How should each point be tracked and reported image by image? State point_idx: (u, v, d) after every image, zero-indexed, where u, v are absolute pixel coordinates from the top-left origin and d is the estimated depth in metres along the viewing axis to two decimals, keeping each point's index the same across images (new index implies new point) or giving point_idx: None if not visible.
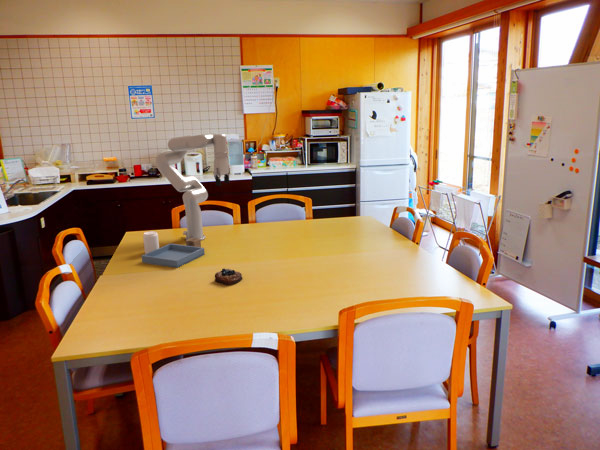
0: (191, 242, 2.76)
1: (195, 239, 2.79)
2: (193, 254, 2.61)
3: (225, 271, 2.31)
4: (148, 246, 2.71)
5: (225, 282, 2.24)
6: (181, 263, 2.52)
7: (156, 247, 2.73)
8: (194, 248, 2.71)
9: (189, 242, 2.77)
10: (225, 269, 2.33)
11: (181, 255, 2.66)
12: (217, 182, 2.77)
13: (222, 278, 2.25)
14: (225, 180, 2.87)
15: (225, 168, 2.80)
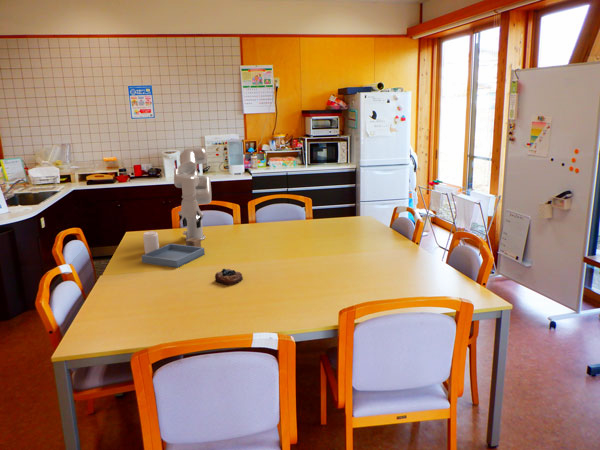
0: (191, 242, 2.76)
1: (195, 239, 2.79)
2: (193, 254, 2.61)
3: (225, 271, 2.31)
4: (148, 246, 2.71)
5: (225, 282, 2.24)
6: (181, 263, 2.52)
7: (156, 247, 2.73)
8: (194, 248, 2.71)
9: (189, 242, 2.77)
10: (225, 269, 2.32)
11: (181, 255, 2.66)
12: (200, 224, 2.73)
13: (222, 278, 2.25)
14: (184, 223, 2.77)
15: None
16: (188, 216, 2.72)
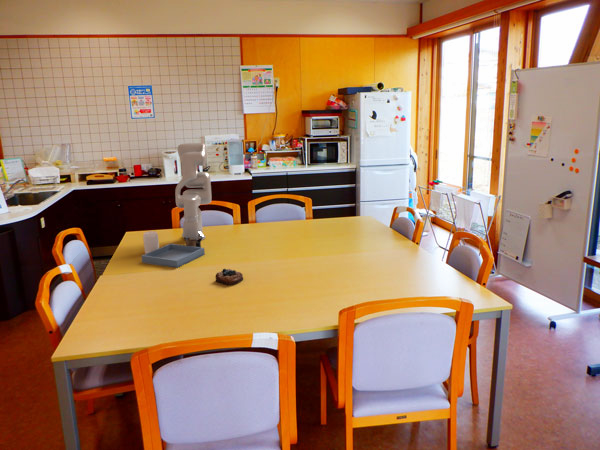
0: (191, 242, 2.76)
1: None
2: (193, 254, 2.61)
3: (226, 271, 2.31)
4: (148, 246, 2.71)
5: (226, 282, 2.24)
6: (181, 263, 2.52)
7: (156, 247, 2.73)
8: (194, 248, 2.71)
9: (189, 242, 2.77)
10: (226, 269, 2.32)
11: (181, 255, 2.66)
12: (199, 245, 2.78)
13: (223, 278, 2.25)
14: None
15: None
16: (190, 236, 2.76)
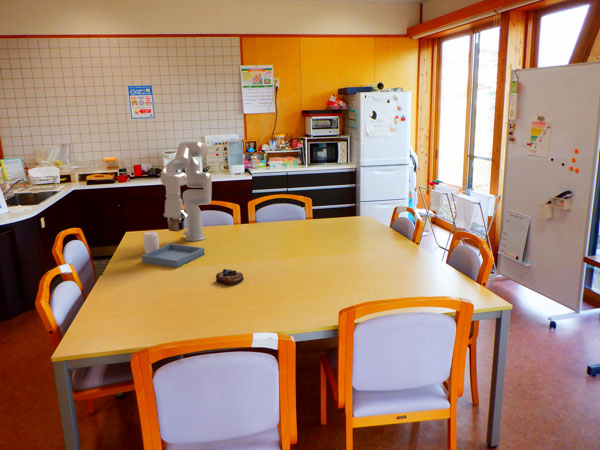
0: (174, 221, 2.60)
1: None
2: (193, 254, 2.61)
3: (226, 271, 2.30)
4: (148, 246, 2.71)
5: (227, 282, 2.24)
6: (181, 263, 2.52)
7: (156, 247, 2.73)
8: (194, 248, 2.71)
9: (172, 222, 2.60)
10: (226, 270, 2.32)
11: (181, 255, 2.66)
12: (182, 225, 2.62)
13: (224, 278, 2.25)
14: None
15: None
16: (172, 216, 2.59)
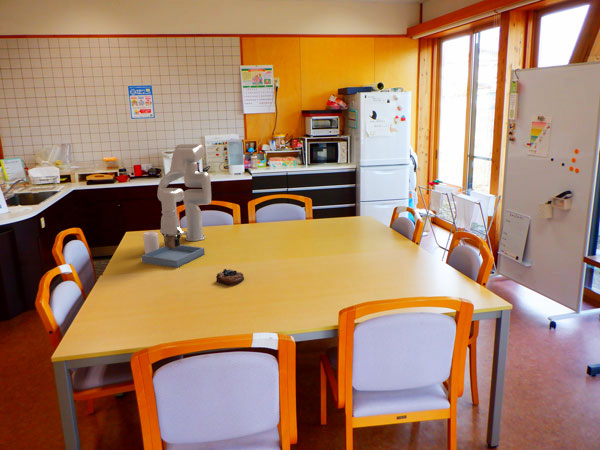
0: (170, 238, 2.58)
1: None
2: (193, 254, 2.61)
3: (227, 272, 2.30)
4: (148, 246, 2.71)
5: (227, 283, 2.23)
6: (181, 263, 2.52)
7: (156, 247, 2.73)
8: (194, 248, 2.71)
9: (168, 238, 2.59)
10: (226, 270, 2.32)
11: (181, 255, 2.66)
12: (178, 242, 2.60)
13: (224, 279, 2.24)
14: None
15: None
16: (168, 233, 2.58)
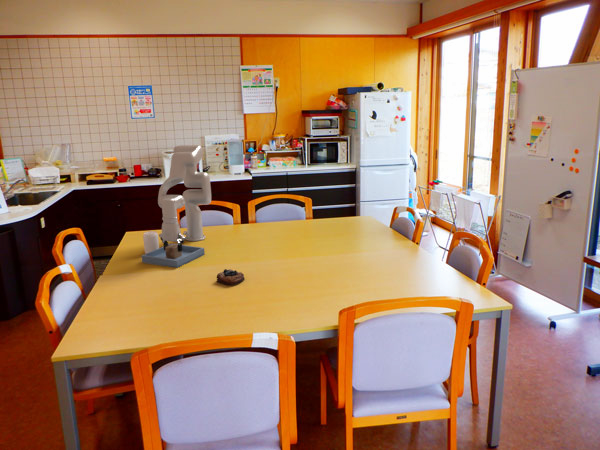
0: (171, 249, 2.60)
1: (175, 246, 2.63)
2: (193, 254, 2.61)
3: None
4: (148, 246, 2.71)
5: (228, 283, 2.23)
6: (181, 263, 2.52)
7: (156, 247, 2.73)
8: (194, 248, 2.71)
9: (169, 249, 2.61)
10: (227, 270, 2.32)
11: None
12: (181, 247, 2.61)
13: (225, 279, 2.24)
14: None
15: None
16: (169, 239, 2.59)
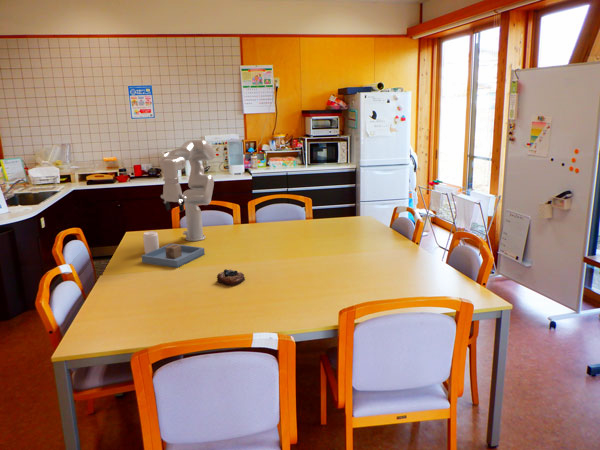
0: (171, 249, 2.60)
1: (175, 246, 2.63)
2: (193, 254, 2.61)
3: (227, 272, 2.30)
4: (148, 246, 2.71)
5: (228, 283, 2.23)
6: (181, 263, 2.52)
7: (156, 247, 2.73)
8: (194, 248, 2.71)
9: (169, 249, 2.61)
10: (227, 270, 2.31)
11: None
12: (183, 207, 2.68)
13: (225, 279, 2.24)
14: (167, 207, 2.71)
15: None
16: (170, 200, 2.66)
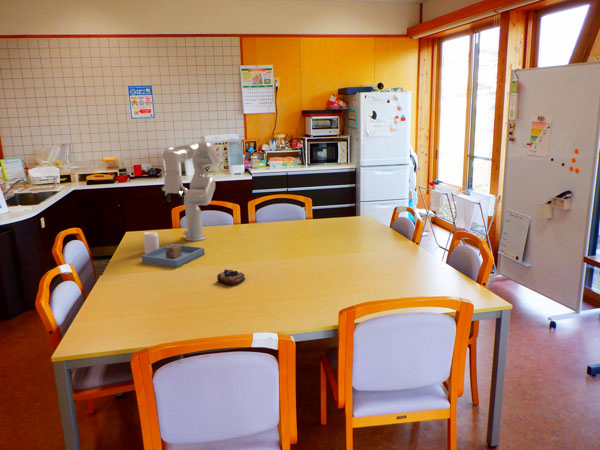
0: (171, 249, 2.60)
1: (175, 246, 2.63)
2: (193, 254, 2.61)
3: (227, 272, 2.30)
4: (148, 246, 2.71)
5: (228, 283, 2.23)
6: (181, 263, 2.52)
7: (156, 247, 2.73)
8: (194, 248, 2.71)
9: (169, 249, 2.61)
10: (227, 270, 2.31)
11: None
12: (183, 199, 2.71)
13: (225, 279, 2.24)
14: (168, 199, 2.75)
15: None
16: (171, 191, 2.69)
